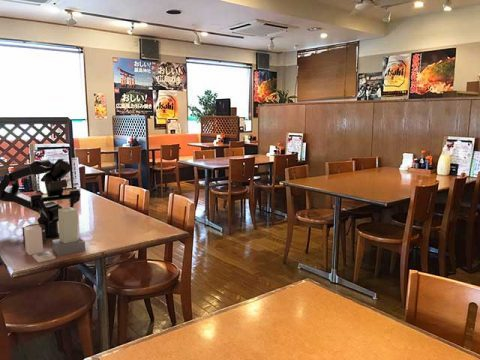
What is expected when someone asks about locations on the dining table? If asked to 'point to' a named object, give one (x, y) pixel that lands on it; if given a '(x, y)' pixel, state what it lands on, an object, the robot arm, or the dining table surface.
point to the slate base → (68, 246)
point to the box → (41, 229)
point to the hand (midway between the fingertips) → (59, 215)
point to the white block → (33, 239)
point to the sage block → (67, 225)
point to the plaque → (43, 257)
